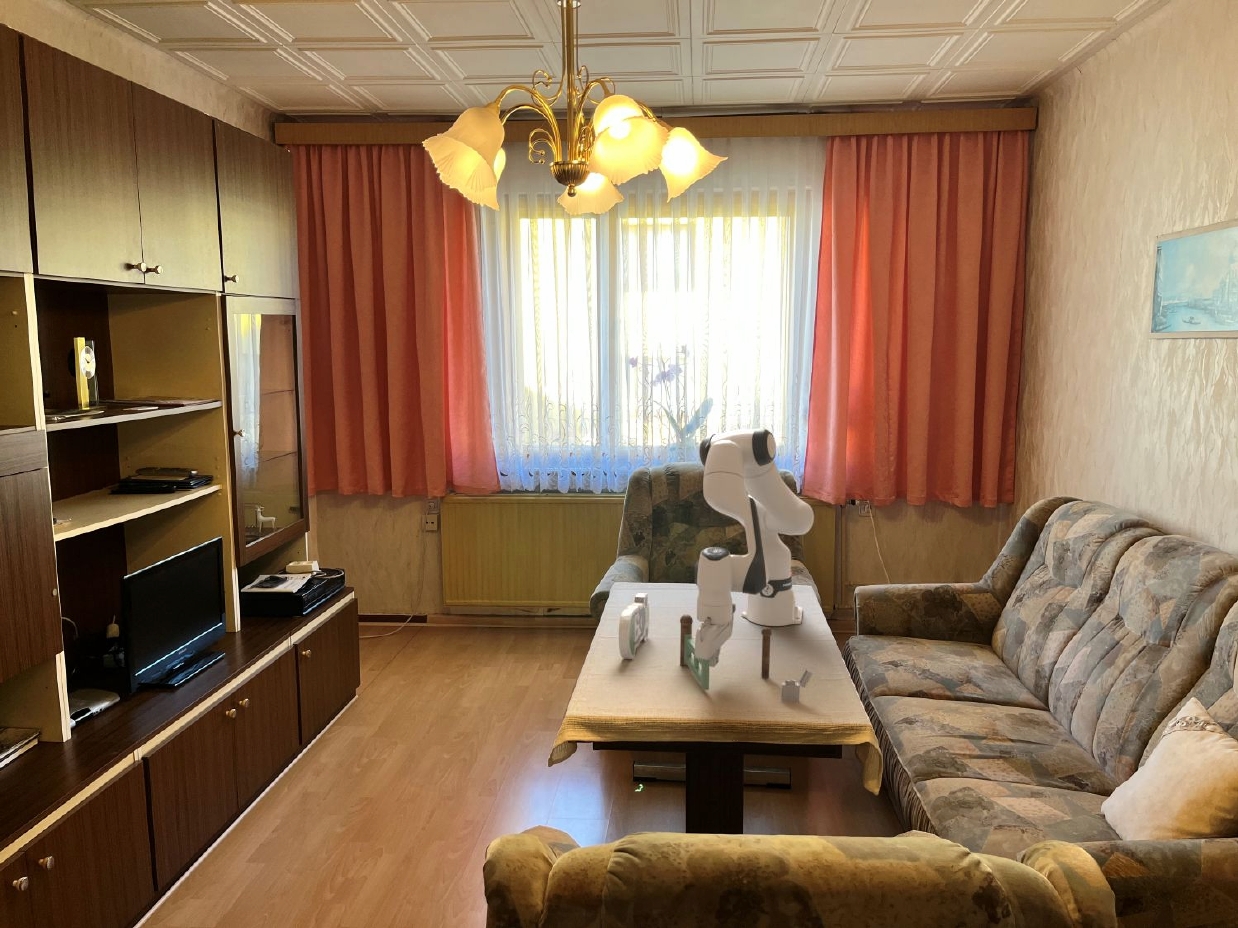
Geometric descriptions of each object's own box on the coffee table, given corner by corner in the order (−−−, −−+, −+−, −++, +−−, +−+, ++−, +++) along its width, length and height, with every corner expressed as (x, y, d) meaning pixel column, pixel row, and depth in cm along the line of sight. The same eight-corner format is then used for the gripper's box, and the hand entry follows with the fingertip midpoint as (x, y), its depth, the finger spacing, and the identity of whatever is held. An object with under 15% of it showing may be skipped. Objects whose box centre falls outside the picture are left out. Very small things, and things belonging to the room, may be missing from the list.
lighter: (782, 701, 227) (783, 670, 226) (781, 699, 228) (782, 667, 227) (811, 702, 226) (812, 671, 225) (810, 699, 228) (811, 668, 227)
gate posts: (681, 661, 254) (682, 612, 252) (771, 675, 244) (773, 624, 242) (677, 665, 251) (678, 615, 249) (768, 680, 241) (769, 628, 239)
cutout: (641, 590, 274) (619, 608, 250) (650, 590, 273) (629, 609, 249) (639, 640, 275) (617, 663, 251) (648, 641, 274) (627, 664, 250)
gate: (689, 662, 250) (690, 634, 249) (708, 689, 232) (709, 658, 230) (684, 663, 250) (684, 634, 249) (702, 689, 231) (703, 659, 230)
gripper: (713, 626, 224) (712, 680, 226) (737, 602, 243) (736, 653, 245) (688, 622, 227) (688, 676, 229) (714, 600, 245) (713, 650, 247)
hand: (713, 664), depth 237 cm, fingers closed
